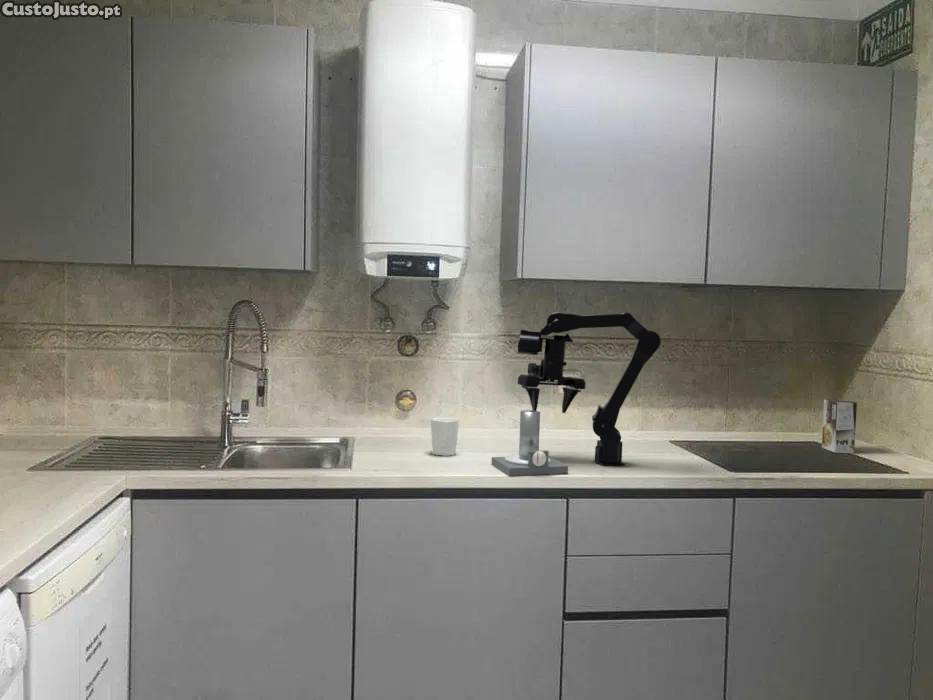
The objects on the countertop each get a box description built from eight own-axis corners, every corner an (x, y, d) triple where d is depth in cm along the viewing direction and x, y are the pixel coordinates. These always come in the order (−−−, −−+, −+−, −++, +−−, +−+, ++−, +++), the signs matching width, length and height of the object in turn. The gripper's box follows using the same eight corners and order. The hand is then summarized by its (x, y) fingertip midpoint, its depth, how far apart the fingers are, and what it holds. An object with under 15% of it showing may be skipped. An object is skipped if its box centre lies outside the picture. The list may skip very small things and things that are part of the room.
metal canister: (529, 455, 197) (530, 409, 196) (542, 459, 193) (544, 411, 192) (514, 457, 194) (516, 410, 193) (528, 461, 190) (529, 413, 189)
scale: (546, 462, 201) (547, 440, 201) (567, 473, 188) (568, 450, 187) (491, 464, 197) (492, 442, 196) (509, 476, 183) (510, 452, 183)
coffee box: (855, 453, 228) (858, 402, 227) (834, 453, 228) (837, 401, 227) (840, 448, 237) (843, 398, 236) (820, 447, 237) (823, 398, 236)
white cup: (433, 457, 204) (434, 421, 204) (427, 451, 212) (428, 417, 212) (460, 456, 207) (461, 421, 206) (453, 450, 214) (454, 417, 214)
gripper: (569, 356, 214) (564, 408, 215) (511, 352, 207) (506, 406, 208) (589, 360, 204) (583, 415, 205) (529, 356, 197) (523, 413, 198)
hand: (549, 412), depth 204 cm, fingers open, 9 cm apart
